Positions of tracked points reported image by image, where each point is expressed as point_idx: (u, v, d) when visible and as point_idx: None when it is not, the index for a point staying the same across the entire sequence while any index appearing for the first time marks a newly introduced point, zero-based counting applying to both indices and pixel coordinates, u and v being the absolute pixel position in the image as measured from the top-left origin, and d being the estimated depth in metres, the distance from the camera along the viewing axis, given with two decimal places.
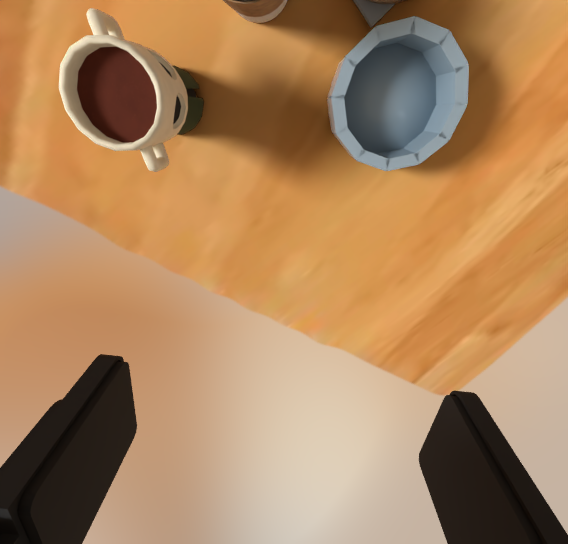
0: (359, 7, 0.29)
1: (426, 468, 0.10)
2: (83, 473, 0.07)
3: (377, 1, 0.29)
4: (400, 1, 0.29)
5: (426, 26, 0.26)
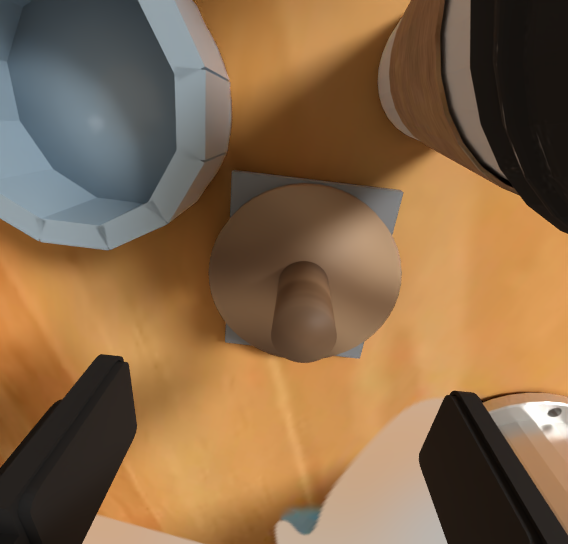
0: (269, 175, 0.17)
1: (426, 468, 0.10)
2: (83, 473, 0.07)
3: (251, 200, 0.17)
4: None
5: (140, 227, 0.14)
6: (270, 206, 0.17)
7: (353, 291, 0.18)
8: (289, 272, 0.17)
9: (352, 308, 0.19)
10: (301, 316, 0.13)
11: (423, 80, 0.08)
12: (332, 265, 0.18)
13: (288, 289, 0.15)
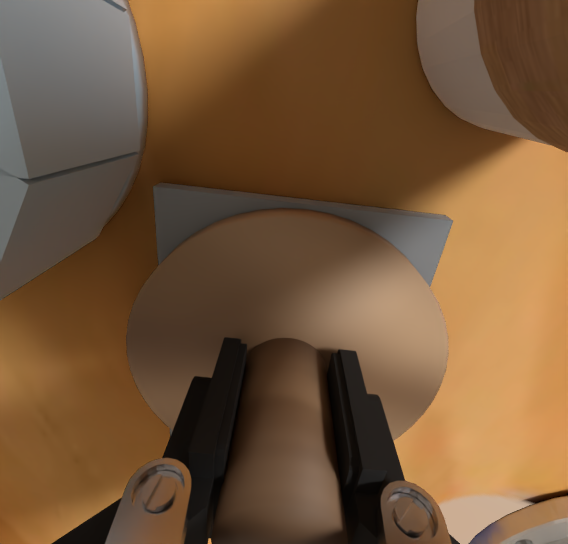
0: (219, 193, 0.10)
1: None
2: None
3: (189, 239, 0.10)
4: None
5: None
6: (222, 252, 0.09)
7: (367, 381, 0.11)
8: (259, 365, 0.10)
9: None
10: (272, 515, 0.06)
11: None
12: (334, 344, 0.11)
13: (252, 421, 0.08)
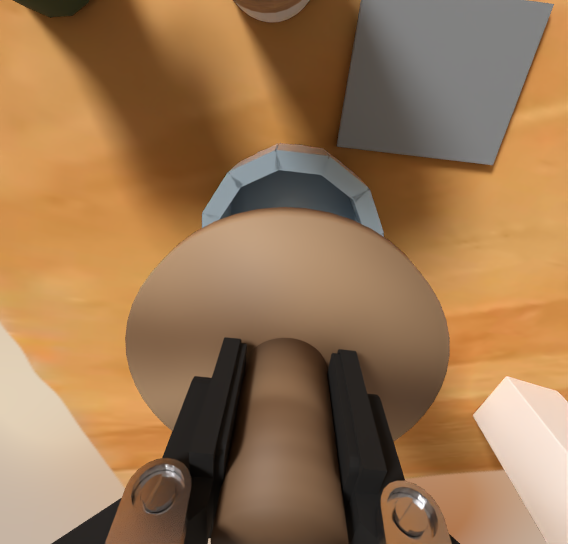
0: (342, 115, 0.22)
1: None
2: None
3: (189, 238, 0.10)
4: None
5: (370, 208, 0.20)
6: (221, 251, 0.09)
7: (367, 381, 0.11)
8: (258, 365, 0.10)
9: None
10: (272, 517, 0.06)
11: None
12: (334, 344, 0.11)
13: (252, 421, 0.08)
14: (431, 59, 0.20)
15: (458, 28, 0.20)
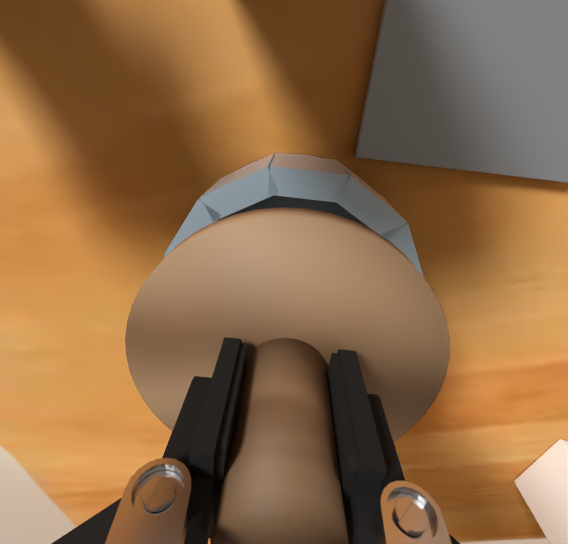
0: (364, 114, 0.16)
1: None
2: None
3: (189, 238, 0.10)
4: None
5: (407, 250, 0.14)
6: (221, 251, 0.09)
7: (367, 381, 0.11)
8: (258, 365, 0.10)
9: None
10: (272, 517, 0.06)
11: None
12: (334, 344, 0.11)
13: (252, 422, 0.08)
14: (497, 32, 0.14)
15: None
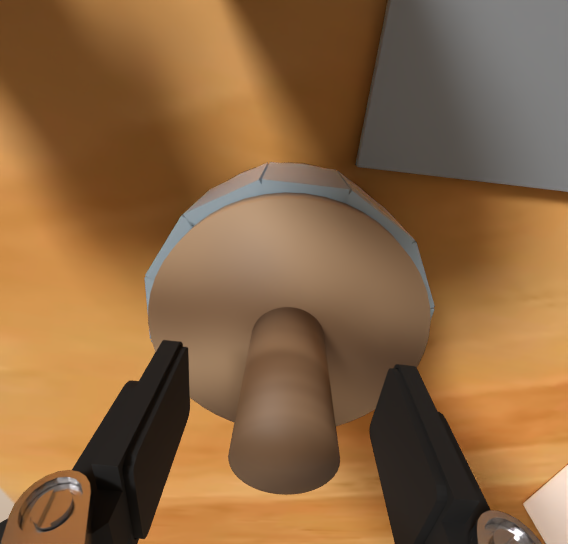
0: (366, 120, 0.14)
1: (374, 438, 0.10)
2: (160, 444, 0.08)
3: (205, 219, 0.11)
4: None
5: None
6: (233, 229, 0.11)
7: (359, 347, 0.13)
8: (265, 328, 0.11)
9: (358, 369, 0.13)
10: (278, 433, 0.08)
11: None
12: (330, 313, 0.12)
13: (261, 369, 0.09)
14: (511, 30, 0.13)
15: None
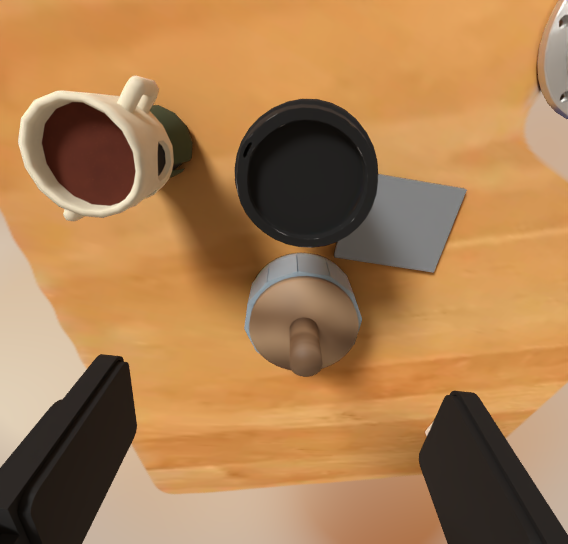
0: None
1: (426, 468, 0.10)
2: (83, 473, 0.07)
3: (276, 284, 0.31)
4: (260, 295, 0.32)
5: (354, 305, 0.32)
6: (287, 289, 0.30)
7: (331, 334, 0.32)
8: (297, 325, 0.31)
9: (331, 343, 0.33)
10: (305, 354, 0.27)
11: None
12: (320, 320, 0.32)
13: (298, 338, 0.29)
14: (394, 213, 0.33)
15: (411, 198, 0.32)
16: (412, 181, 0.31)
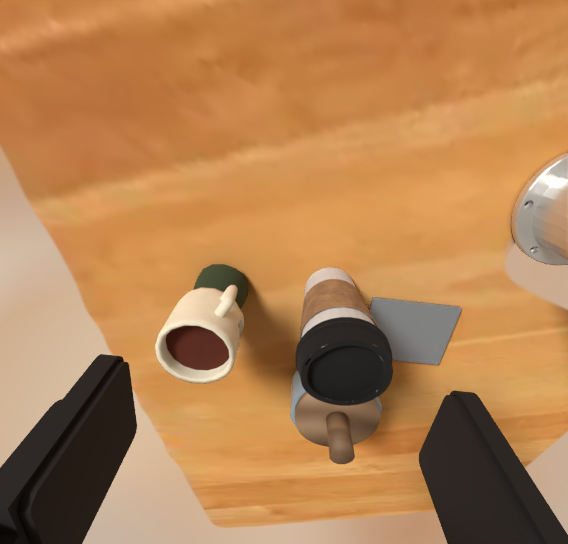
0: None
1: (426, 468, 0.10)
2: (83, 473, 0.07)
3: None
4: (303, 395, 0.41)
5: (375, 399, 0.41)
6: None
7: (359, 421, 0.42)
8: (332, 419, 0.40)
9: (358, 427, 0.42)
10: (341, 450, 0.37)
11: None
12: (350, 412, 0.41)
13: (334, 433, 0.38)
14: (405, 326, 0.42)
15: (417, 315, 0.41)
16: (418, 305, 0.40)
